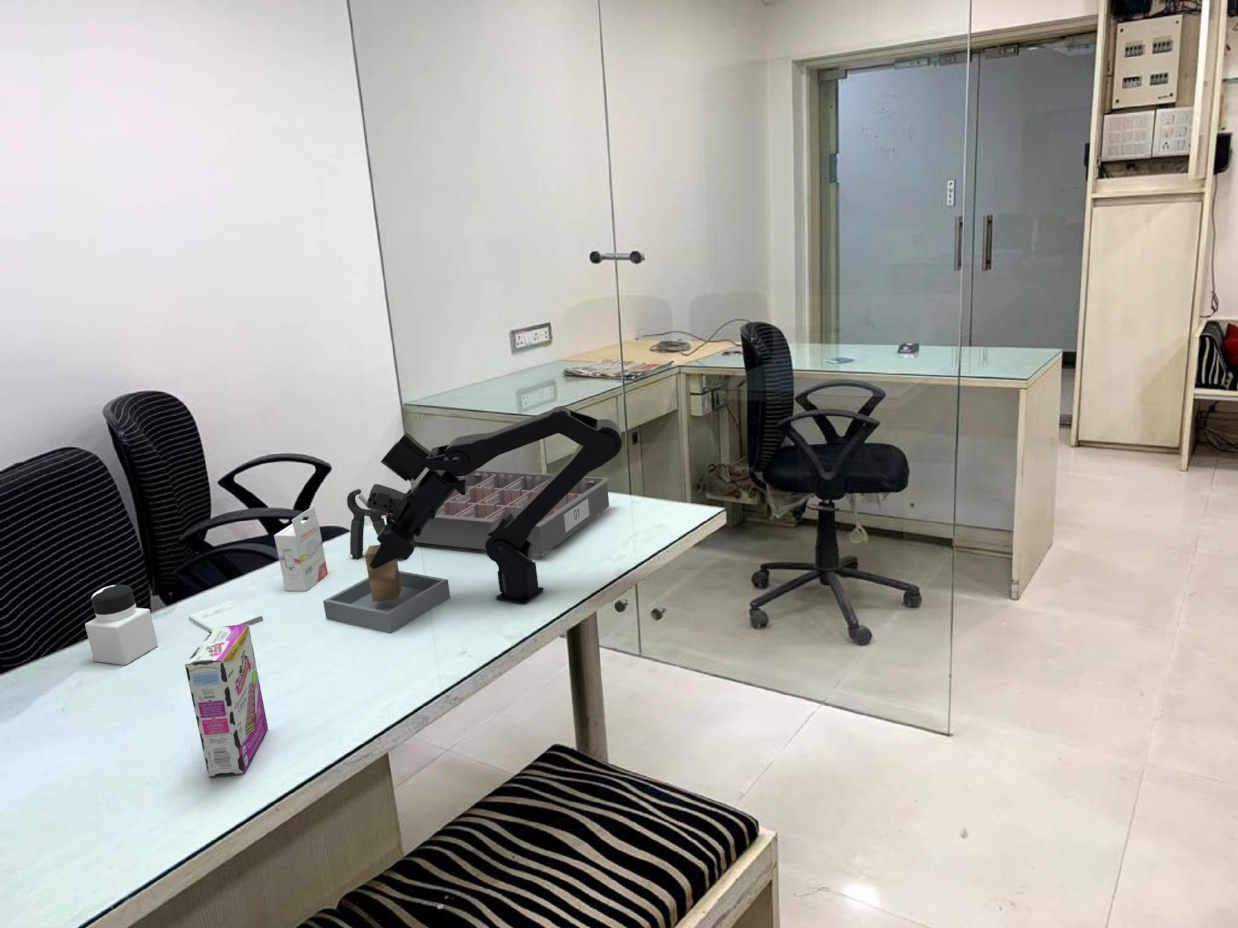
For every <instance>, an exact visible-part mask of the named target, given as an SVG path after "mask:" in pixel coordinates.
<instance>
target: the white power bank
mask: <svg viewBox="0 0 1238 928" xmlns="http://www.w3.org/2000/svg"><path fill="white" fill-rule="evenodd" d="M188 620H189V621H190V620H191V621H193V622H194V623H193V622H192V623H193V624H195V623H196V624H197V626H198V625H199V626H198V627H200V628H201V627H202V628H201V629H203V630H205V631H207V630H208V631H209V633H210V632H211V631H212V630H213V629H214V628H215V627H225V626H233V625H245V624H248V625H250V626H253V625H255V624H254V623H256V624H258V623H261V622H262V621H264V617H263V616H262V615H261V614H258V613H256V612H254V611H252V610H250V609H249V608H246V607H245V606H242V605H241V604H239V603H236V602H235V601H232V600H228V601H225V602H223V603H220V604H216V605H214V606H212V607H209V608H206V609H203V610H201V611H197V612H195V613H193V614H190V615H189V616H188ZM191 621H190V622H191ZM260 621H261V622H260ZM196 624H195V625H196ZM208 631H207V632H208Z"/></svg>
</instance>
